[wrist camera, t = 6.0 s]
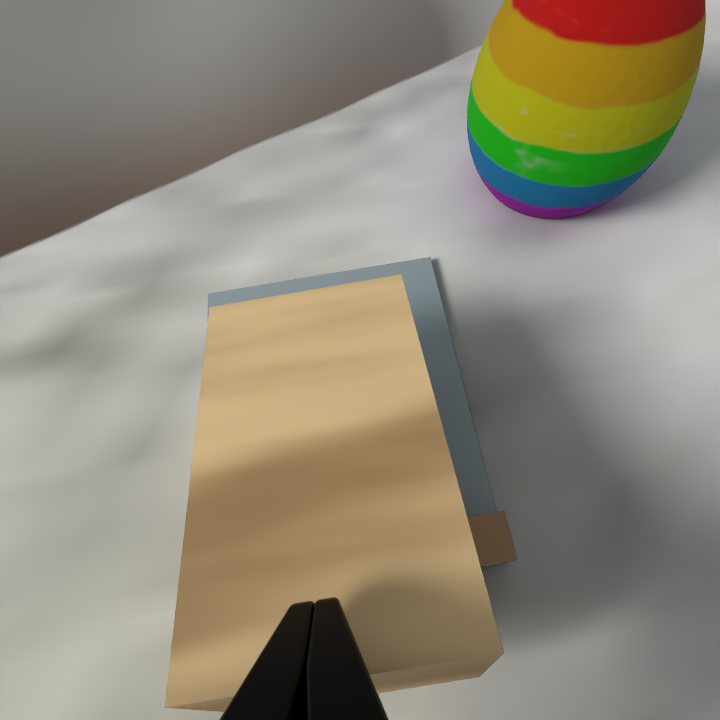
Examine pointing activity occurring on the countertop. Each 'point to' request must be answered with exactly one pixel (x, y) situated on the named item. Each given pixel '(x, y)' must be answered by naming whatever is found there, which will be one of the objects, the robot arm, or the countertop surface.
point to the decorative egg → (579, 97)
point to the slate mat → (445, 383)
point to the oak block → (324, 497)
